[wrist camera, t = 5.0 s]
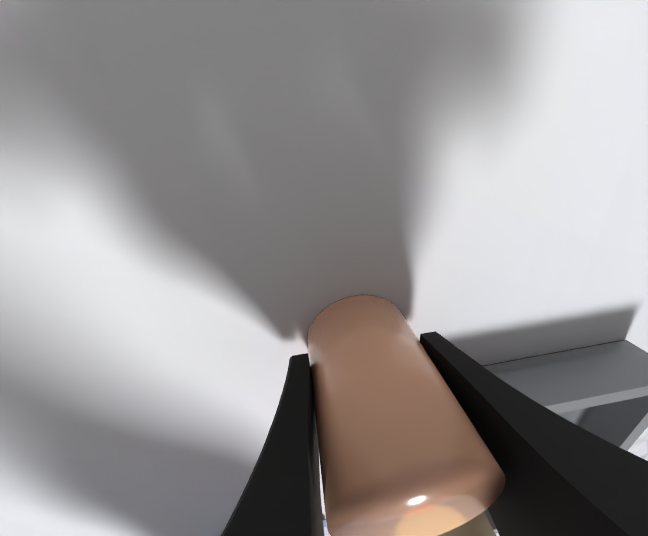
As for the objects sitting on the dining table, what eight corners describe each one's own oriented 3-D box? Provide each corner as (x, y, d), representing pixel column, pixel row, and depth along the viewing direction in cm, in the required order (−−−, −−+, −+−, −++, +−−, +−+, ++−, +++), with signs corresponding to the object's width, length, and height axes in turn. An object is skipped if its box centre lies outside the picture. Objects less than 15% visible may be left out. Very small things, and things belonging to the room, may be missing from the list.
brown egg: (313, 378, 12) (334, 560, 7) (300, 304, 10) (317, 483, 5) (402, 362, 13) (485, 526, 7) (407, 287, 11) (527, 440, 5)
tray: (377, 512, 20) (388, 558, 18) (378, 385, 13) (397, 435, 11) (542, 475, 21) (572, 515, 19) (626, 339, 14) (688, 377, 12)
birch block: (400, 506, 19) (426, 591, 15) (402, 479, 17) (433, 569, 14) (452, 495, 19) (489, 576, 16) (460, 467, 17) (505, 552, 14)
